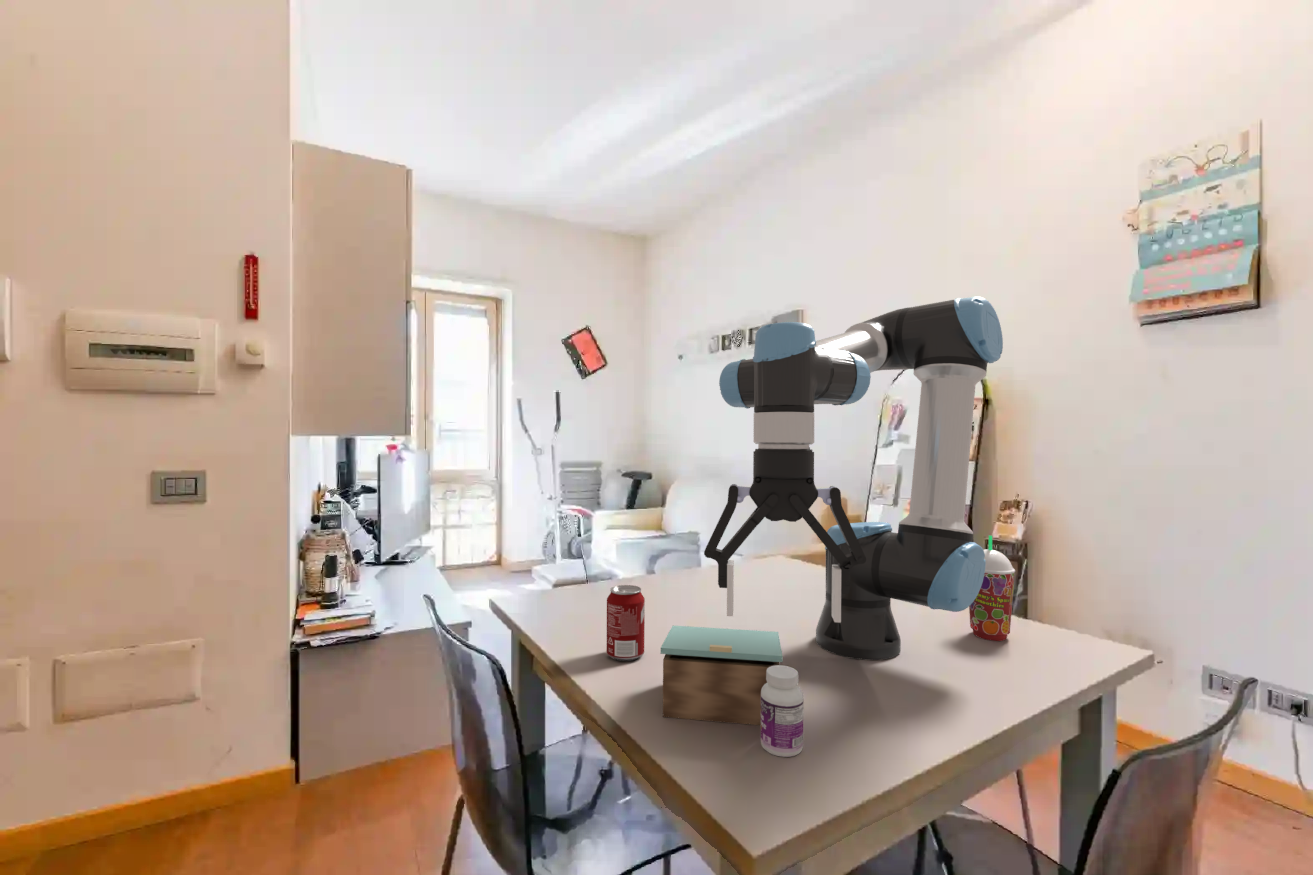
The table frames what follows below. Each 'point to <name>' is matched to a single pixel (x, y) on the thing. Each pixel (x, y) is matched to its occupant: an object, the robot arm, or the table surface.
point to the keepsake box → (713, 688)
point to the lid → (723, 643)
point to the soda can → (625, 623)
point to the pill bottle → (782, 712)
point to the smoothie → (993, 598)
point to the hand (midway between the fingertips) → (782, 616)
